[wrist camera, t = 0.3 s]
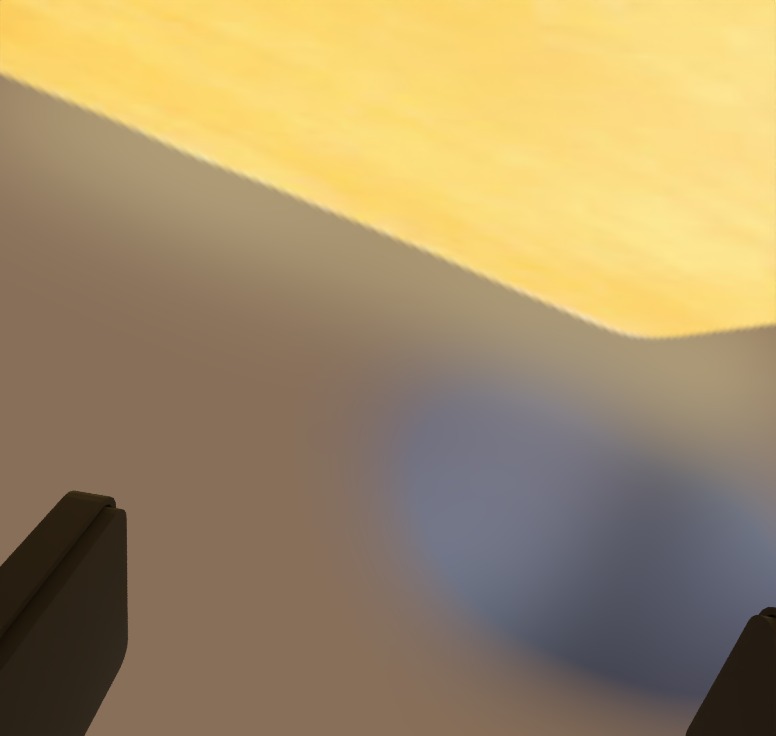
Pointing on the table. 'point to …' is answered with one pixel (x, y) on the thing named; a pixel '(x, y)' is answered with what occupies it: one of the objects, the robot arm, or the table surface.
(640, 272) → the table surface
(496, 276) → the table surface
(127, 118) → the table surface
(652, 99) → the table surface
